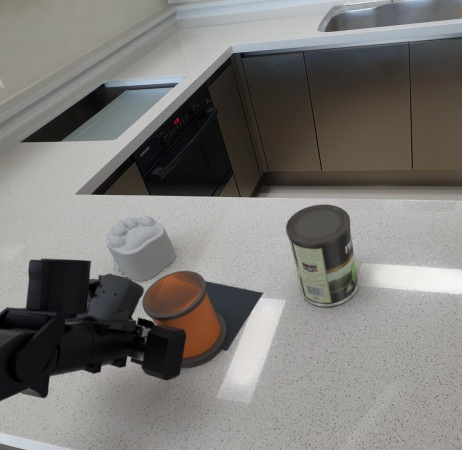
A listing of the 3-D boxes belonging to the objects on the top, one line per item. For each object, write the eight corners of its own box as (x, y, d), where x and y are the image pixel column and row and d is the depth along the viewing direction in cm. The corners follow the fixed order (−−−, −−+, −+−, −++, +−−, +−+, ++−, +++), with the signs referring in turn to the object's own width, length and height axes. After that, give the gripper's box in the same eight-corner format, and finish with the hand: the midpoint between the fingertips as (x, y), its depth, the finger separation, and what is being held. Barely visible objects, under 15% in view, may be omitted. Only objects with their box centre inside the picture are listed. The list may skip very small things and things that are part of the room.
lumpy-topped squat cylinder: (141, 286, 90) (123, 252, 85) (108, 263, 98) (90, 231, 92) (182, 255, 95) (168, 222, 90) (148, 235, 103) (133, 204, 98)
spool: (184, 379, 70) (159, 333, 64) (151, 342, 77) (126, 296, 71) (240, 335, 75) (223, 288, 69) (205, 304, 83) (186, 258, 76)
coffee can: (355, 262, 85) (347, 200, 76) (360, 304, 77) (352, 239, 68) (300, 268, 86) (286, 208, 77) (300, 310, 78) (284, 247, 69)
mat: (226, 350, 74) (226, 350, 74) (162, 333, 79) (162, 333, 79) (262, 293, 83) (262, 292, 82) (203, 281, 88) (203, 280, 88)
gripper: (149, 292, 51) (225, 290, 66) (36, 266, 59) (126, 270, 73) (131, 393, 51) (212, 369, 65) (20, 353, 58) (114, 340, 72)
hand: (163, 333), depth 69 cm, fingers closed
